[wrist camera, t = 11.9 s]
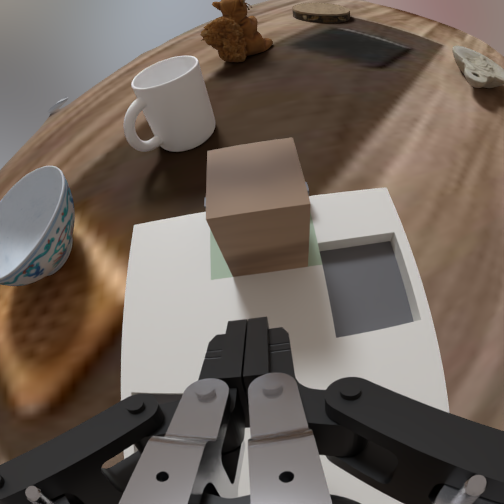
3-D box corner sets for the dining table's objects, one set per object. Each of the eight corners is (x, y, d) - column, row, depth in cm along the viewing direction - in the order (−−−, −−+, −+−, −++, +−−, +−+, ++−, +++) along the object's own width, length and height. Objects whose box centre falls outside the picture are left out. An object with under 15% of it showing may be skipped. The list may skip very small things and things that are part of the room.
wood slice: (361, 22, 57) (361, 13, 54) (310, 26, 56) (309, 16, 54) (330, 9, 65) (330, 1, 62) (283, 14, 64) (282, 5, 62)
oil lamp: (502, 119, 33) (511, 97, 29) (436, 81, 39) (441, 59, 35) (505, 86, 39) (511, 69, 35) (454, 57, 45) (457, 40, 41)
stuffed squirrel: (275, 43, 51) (267, -10, 39) (250, 70, 45) (237, 4, 34) (232, 43, 54) (221, -7, 42) (201, 70, 48) (184, 11, 37)
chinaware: (121, 229, 31) (85, 185, 24) (45, 333, 26) (-5, 308, 19) (67, 190, 36) (38, 155, 30) (7, 269, 31) (-29, 242, 25)
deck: (442, 504, 13) (463, 516, 9) (146, 533, 15) (124, 546, 12) (382, 200, 28) (390, 173, 24) (142, 235, 30) (125, 213, 26)
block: (307, 266, 23) (310, 203, 16) (232, 277, 24) (205, 219, 17) (296, 206, 26) (292, 137, 19) (229, 216, 27) (207, 151, 20)
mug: (162, 181, 33) (127, 114, 24) (128, 161, 37) (95, 103, 28) (229, 124, 37) (212, 58, 28) (189, 111, 40) (169, 53, 31)
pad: (320, 274, 25) (322, 264, 23) (216, 289, 26) (210, 279, 24) (306, 209, 28) (306, 196, 27) (215, 223, 29) (210, 211, 27)
